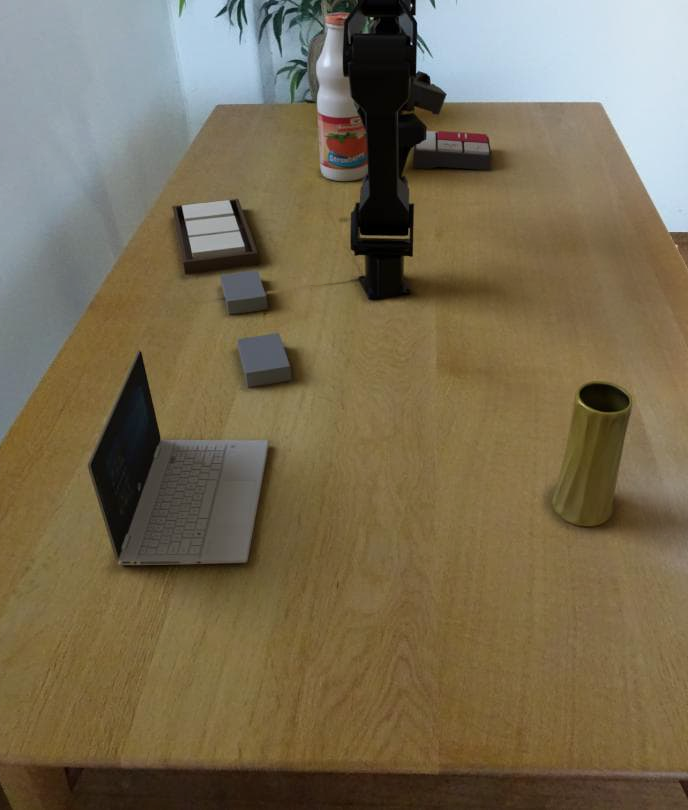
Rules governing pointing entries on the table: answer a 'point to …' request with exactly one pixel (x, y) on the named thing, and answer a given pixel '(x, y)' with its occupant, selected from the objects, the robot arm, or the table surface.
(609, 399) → the vase
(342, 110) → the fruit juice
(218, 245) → the white flat block
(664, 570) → the table surface
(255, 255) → the book tray
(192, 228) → the white notebook
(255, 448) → the laptop
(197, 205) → the white notebook
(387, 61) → the robot arm
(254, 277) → the grey rectangular block
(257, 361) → the gray flat block
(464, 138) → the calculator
